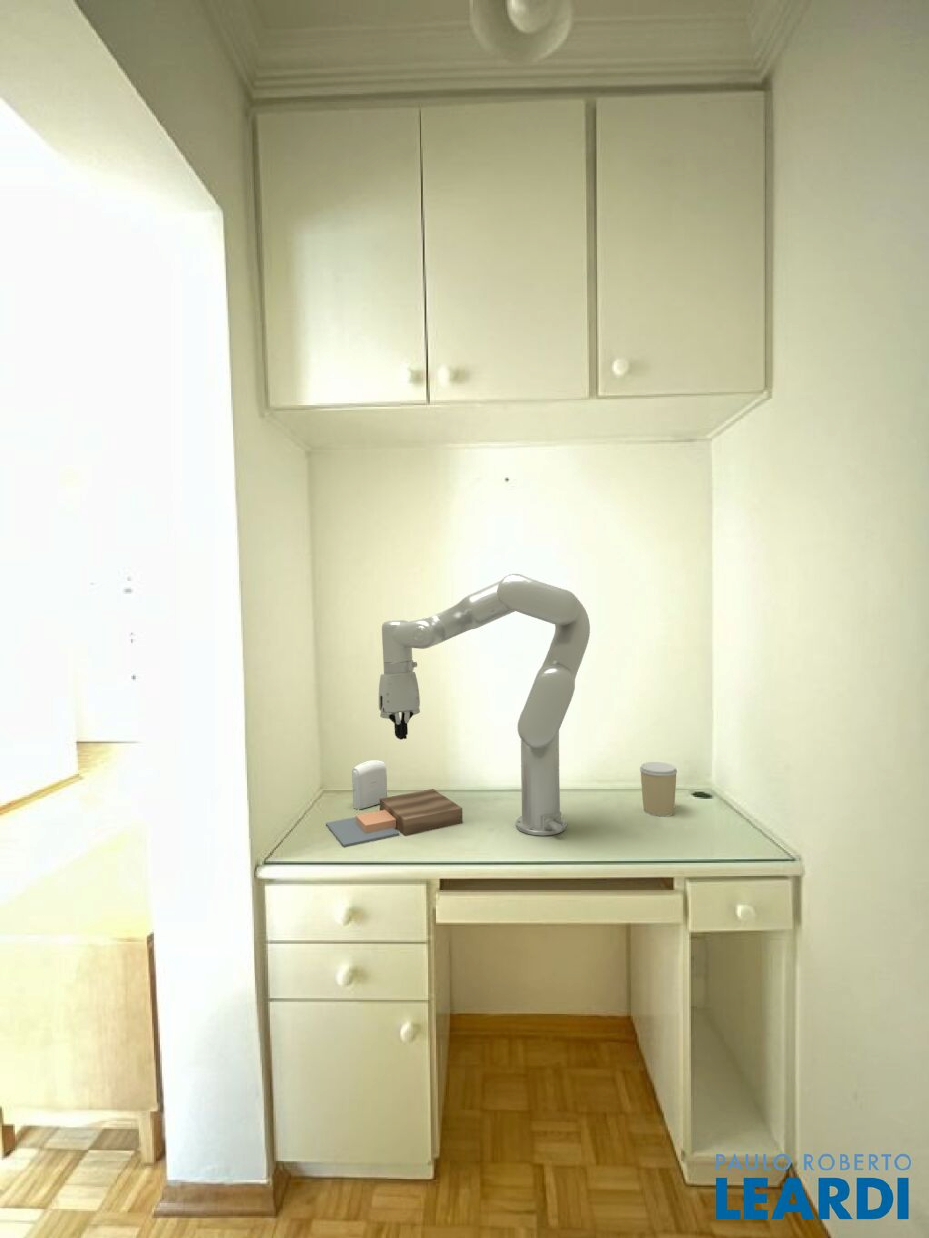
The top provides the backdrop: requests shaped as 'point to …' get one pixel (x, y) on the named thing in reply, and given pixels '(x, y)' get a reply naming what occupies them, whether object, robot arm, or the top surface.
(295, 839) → the top surface
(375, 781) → the photo printer
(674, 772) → the coffee cup
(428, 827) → the deck
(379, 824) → the tile
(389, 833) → the mat
